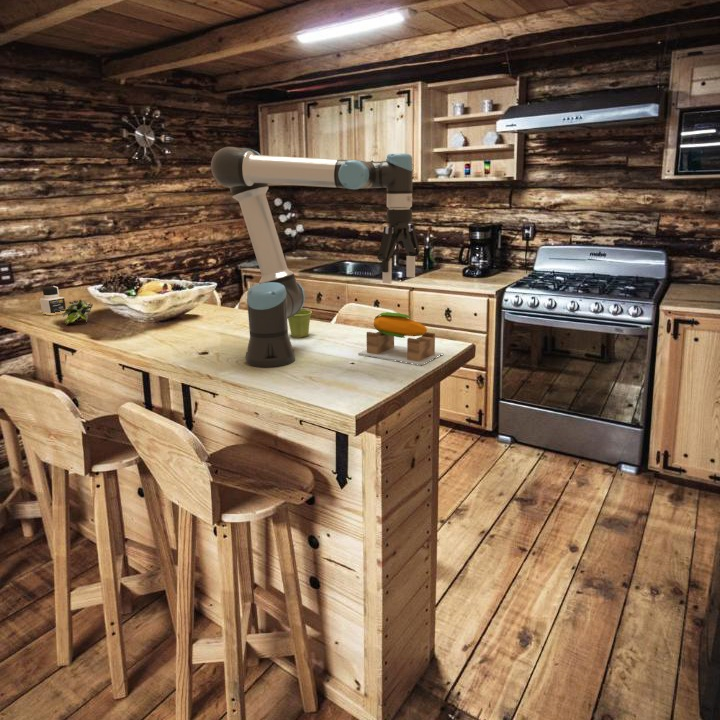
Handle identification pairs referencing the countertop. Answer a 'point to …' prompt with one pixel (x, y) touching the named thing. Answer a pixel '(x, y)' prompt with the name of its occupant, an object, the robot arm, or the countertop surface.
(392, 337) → the wooden brackets on board
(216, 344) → the countertop surface
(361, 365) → the countertop surface
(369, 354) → the mat
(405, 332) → the corn
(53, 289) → the medicine bottle
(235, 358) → the countertop surface
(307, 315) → the plant pot
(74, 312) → the leafy green plant
